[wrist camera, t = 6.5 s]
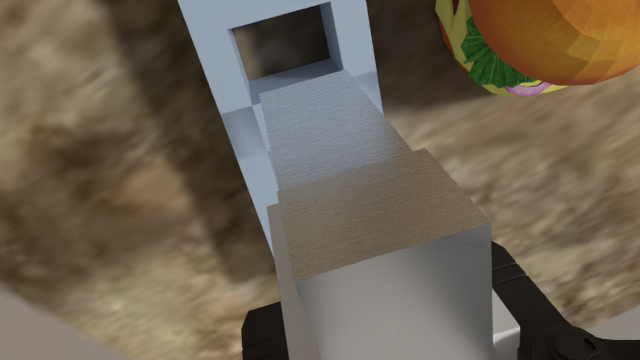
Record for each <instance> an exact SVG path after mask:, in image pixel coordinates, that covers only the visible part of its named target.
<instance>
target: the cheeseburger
mask: <svg viewBox="0 0 640 360" xmlns="http://www.w3.org/2000/svg"><path fill="white" fill-rule="evenodd" d="M435 11H436V13H437V15H438V16H439V19H440V28H441V36H442V38H443V40H444V42H445V43H446V45H447V47H448V48H449V50H450V51H451V53H452V55H453V56H454V58H455V60H456V61H457V63H458V64H459V66H460V67H461V68H462V69H463V70H465V71H466V72H468V73H469V74H468V76H467V78H471V79H473V80H474V81H475V82H476V83H477V85H482V86H483V87H484V88H486V89H487V90H488V91H490V92H491V93H494V94H500V95H506V96H514V95H522V96H527V95H533V94H542V93H547V92H550V91H554V90H557V89H561V88H564V87H567V86H571V85H591V84H595V83H598V82H602V81H605V80H608V79H611V78H614V77H617V76H620V75H623V74H625V73H627V72H628V71H630V70H632V69H633V68H635V67H636V66H638V65H640V0H436V7H435Z"/></svg>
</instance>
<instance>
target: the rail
mask: <svg viewBox="0 0 640 360" xmlns="http://www.w3.org/2000/svg"><path fill="white" fill-rule="evenodd" d="M178 3H179V5H180V8H181V11H182V13H183V16H184V19H185V21H186V24H187V27H188V30H189V32H190V35H191V38H192V40H193V43H194V46H195V48H196V51H197V54H198V56H199V59H200V62H201V64H202V67H203V70H204V72H205V75H206V78H207V80H208V83H209V86H210V88H211V91H212V94H213V96H214V99H215V102H216V104H217V107H218V110H219V112H220V115H221V118H222V120H223V123H224V126H225V128H226V131H227V134H228V136H229V139H230V142H231V144H232V147H233V150H234V153H235V155H236V158H237V161H238V163H239V166H240V169H241V171H242V174H243V177H244V179H245V182H246V185H247V187H248V190H249V193H250V195H251V198H252V201H253V203H254V206H255V209H256V211H257V214H258V217H259V219H260V222H261V225H262V227H263V230H264V233H265V235H266V238H267V241H268V243H269V246H270V249H271V251H272V254H273V247H272V240H271V234H270V227H269V220H268V214H267V207H266V206H270V205H273V204H277V203H279V202H278V197H277V192H276V191H279V189H278V184H277V179H276V174H275V169H274V164H273V159H272V154H271V150H270V145H269V140H268V135H267V130H266V125H265V120H264V115H263V111H262V106H261V101H260V96H259V94H260V93H264V92H268V91H271V90H275V89H278V88H282V87H285V86H289V85H292V84H296V83H299V82H303V81H306V80H310V79H314V78H317V77H321V76H324V75H328V74H331V73H335V72H338V71H342V70H345V69H346V70H347V71H348V72H349V74H350V75H351V76H352V77H353V79H354V80H355V81H356V82H357V84H358V85H359V86H360V87H361V88H362V90H363V91H364V92H365V93H366V95H367V96H368V97H369V98H370V99H371V101H372V102H373V103H374V104H375V106H376V107H377V108H378V109H379V110H380V112H381V113H382V114H383V109H382V103H381V96H380V90H379V83H378V77H377V70H376V64H375V57H374V51H373V44H372V38H371V31H370V25H369V18H368V12H367V5H366V0H178ZM315 5H319V7H320V11H321V16H322V21H323V26H324V30H325V35H326V40H327V45H328V50H329V54H330V58H329V59H326V60H322V61H319V62H315V63H311V64H308V65H304V66H301V67H297V68H294V69H290V70H286V71H283V72H279V73H276V74H272V75H268V76H265V77H261V78H258V79H254V80H251V81H248V79H247V76H246V73H245V70H244V66H243V63H242V60H241V57H240V54H239V51H238V48H237V45H236V42H235V38H234V35H233V32H232V29H231V28H235V27H238V26H242V25H246V24H249V23H253V22H257V21H260V20H264V19H268V18H271V17H275V16H279V15H282V14H286V13H290V12H293V11H297V10H300V9H304V8H308V7H311V6H315ZM273 257H274V254H273Z"/></svg>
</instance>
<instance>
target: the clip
mask: <svg viewBox="0 0 640 360" xmlns="http://www.w3.org/2000/svg"><path fill="white" fill-rule="evenodd" d="M259 96H260V101H261V106H262V111H263V115H264V120H265V125H266V130H267V135H268V140H269V145H270V150H271V154H272V159H273V164H274V169H275V174H276V179H277V184H278V189H279V191H276V192H277V197H278V202H279V207H280V212H281V217H282V222H283V227H284V232H285V238H286V243H287V248H288V253H289V258H290V263H291V268H292V273H293V279H294V283H295V286H296V288H297V291H298V294H299V297H300V300H301V303H302V305H303V308H304V311H305V314H306V317H307V320H308V322H309V325H310V328H311V331H312V334H313V337H314V339H315V342H316V345H317V348H318V351H319V354H320V357H321V359H322V360H493V312H492V260H491V222H490V221H489V220H488V218H487V217H486V216H485V215H484V214H483V213H482V212H481V211H480V209H479V208H478V207H477V206H476V205H475V204H474V203H473V201H472V200H471V199H470V198H469V197H468V196H467V195H466V194H465V192H464V191H463V190H462V189H461V188H460V187H459V186H458V184H457V183H456V182H455V181H454V180H453V179H452V178H451V177H450V175H449V174H448V173H447V172H446V171H445V170H444V169H443V167H442V166H441V165H440V164H439V163H438V162H437V161H436V160H435V158H434V157H433V156H432V155H431V154H430V153H429V152H428V150H427V149H426V148H423V149H420V150H417V151H412V150H411V148H410V147H409V146H408V145H407V144H406V142H405V141H404V140H403V139H402V137H401V136H400V135H399V134H398V133H397V131H396V130H395V129H394V128H393V126H392V125H391V124H390V123H389V121H388V120H387V119H386V118H385V117H384V115H383V114H382V113H381V112H380V110H379V109H378V108H377V107H376V106H375V104H374V103H373V102H372V101H371V99H370V98H369V97H368V96H367V95H366V93H365V92H364V91H363V90H362V88H361V87H360V86H359V85H358V84H357V82H356V81H355V80H354V79H353V77H352V76H351V75H350V74H349V72H348V71H347V70H346V69H345V70H342V71H338V72H335V73H331V74H328V75H324V76H321V77H317V78H314V79H310V80H306V81H303V82H299V83H296V84H292V85H289V86H285V87H282V88H278V89H275V90H271V91H268V92H264V93H260V94H259Z"/></svg>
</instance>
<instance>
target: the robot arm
mask: <svg viewBox="0 0 640 360" xmlns="http://www.w3.org/2000/svg"><path fill="white" fill-rule="evenodd" d="M266 207H267V214H268V220H269V227H270V234H271V240H272V247H273V254H274V260H275V267H276V274H277V280H278V287H279V293H280V300H281V301H280V302H277V303H273V304H270V305H267V306H264V307H260V308H257V309H254V310H250V311H248V313H247V316H246V318H245V321H244V323H243V326H242V329H241V332H242V348H243V350H242V355H243V360H322V359H321V357H320V354H319V351H318V348H317V345H316V342H315V339H314V337H313V334H312V331H311V328H310V325H309V322H308V320H307V317H306V314H305V311H304V308H303V305H302V303H301V300H300V297H299V294H298V291H297V288H296V286H295V283H294V279H293V273H292V268H291V263H290V258H289V253H288V248H287V243H286V238H285V232H284V227H283V222H282V217H281V212H280V207H279V203H277V204H273V205H270V206H266ZM491 260H492V312H493V360H640V340H608V339H601V338H598V337H595V336H594V335H592V334H590V333H589V332H587V331H585V330H583V329H582V328H578V327H574V326H572V325H571V324H570V323H569V322H568V321H566V320H565V319H564V318H563V316H562V315H561V314H560V313H559V312H558V311H557V309H556V308H555V307H554V306H553V305H552V303H551V302H550V301H549V300H548V299H547V298H546V296H545V295H544V294H543V293H542V292H541V291H540V289H539V288H538V287H537V286H536V285H535V284H534V282H533V281H532V280H531V279H530V278H529V277H528V276H526V273H525V272H524V271H523V269H522V268H521V267H520V266H519V265H518V264H516V261H515V260H514V259H513V258H512V257H511V255H510V254H509V253H508V252H507V251H506V250H505V248H504V247H502V246H500V245H498V244H497V243H495V242H493V241H491Z"/></svg>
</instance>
